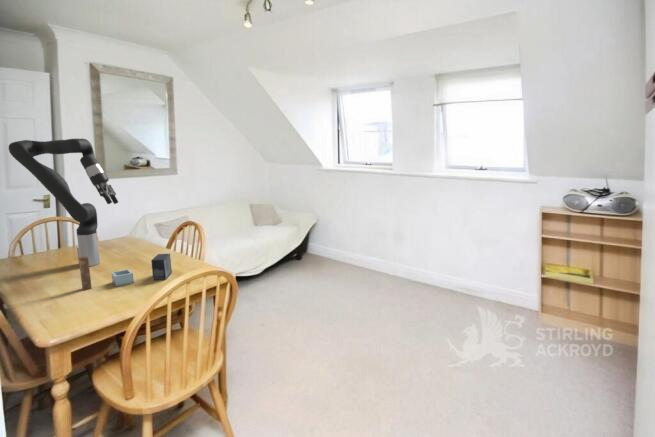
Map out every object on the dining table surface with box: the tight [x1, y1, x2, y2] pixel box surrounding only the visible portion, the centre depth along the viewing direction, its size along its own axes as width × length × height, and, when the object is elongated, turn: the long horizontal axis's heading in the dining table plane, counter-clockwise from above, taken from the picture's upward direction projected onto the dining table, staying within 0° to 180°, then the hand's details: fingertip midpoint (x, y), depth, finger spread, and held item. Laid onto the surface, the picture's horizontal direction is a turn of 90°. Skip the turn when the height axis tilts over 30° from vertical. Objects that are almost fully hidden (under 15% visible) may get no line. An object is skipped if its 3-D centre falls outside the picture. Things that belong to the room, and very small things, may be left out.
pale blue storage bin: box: [111, 268, 135, 288], centre depth 191 cm, size 8×8×5 cm
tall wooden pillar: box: [78, 256, 93, 291], centre depth 183 cm, size 3×3×15 cm
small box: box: [150, 253, 173, 281], centre depth 199 cm, size 11×6×10 cm, turn 5°
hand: (113, 203), depth 205 cm, fingers open, 8 cm apart
